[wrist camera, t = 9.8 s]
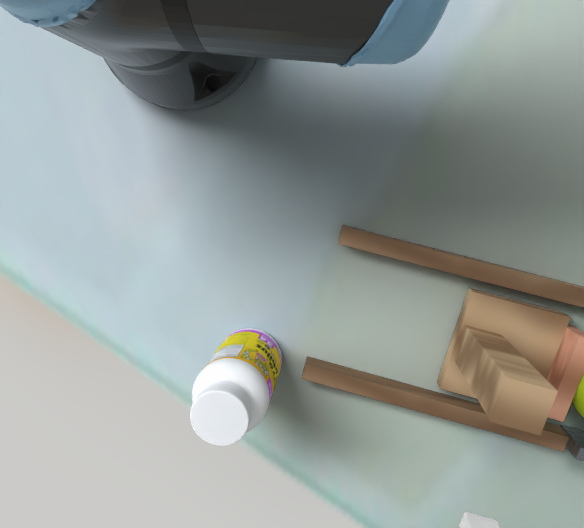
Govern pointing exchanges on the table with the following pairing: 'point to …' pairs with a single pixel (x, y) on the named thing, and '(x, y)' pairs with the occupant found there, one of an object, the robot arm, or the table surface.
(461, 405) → the track rails
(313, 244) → the table surface
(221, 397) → the supplement bottle
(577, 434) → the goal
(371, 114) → the table surface
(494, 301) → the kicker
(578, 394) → the tennis ball
